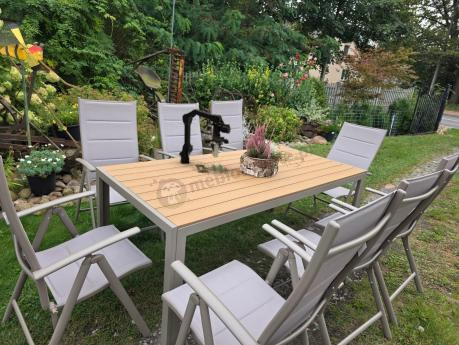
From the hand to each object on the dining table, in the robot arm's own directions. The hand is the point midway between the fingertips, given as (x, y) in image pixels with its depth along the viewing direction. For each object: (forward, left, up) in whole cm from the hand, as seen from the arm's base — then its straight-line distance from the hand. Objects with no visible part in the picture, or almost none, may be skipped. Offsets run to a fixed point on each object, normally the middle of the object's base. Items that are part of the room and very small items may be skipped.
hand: (215, 152), depth 227 cm
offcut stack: (-10, -8, -14) cm, 19 cm away
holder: (+3, 0, -14) cm, 14 cm away
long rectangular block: (0, 0, -3) cm, 3 cm away
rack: (-10, 0, -14) cm, 17 cm away
